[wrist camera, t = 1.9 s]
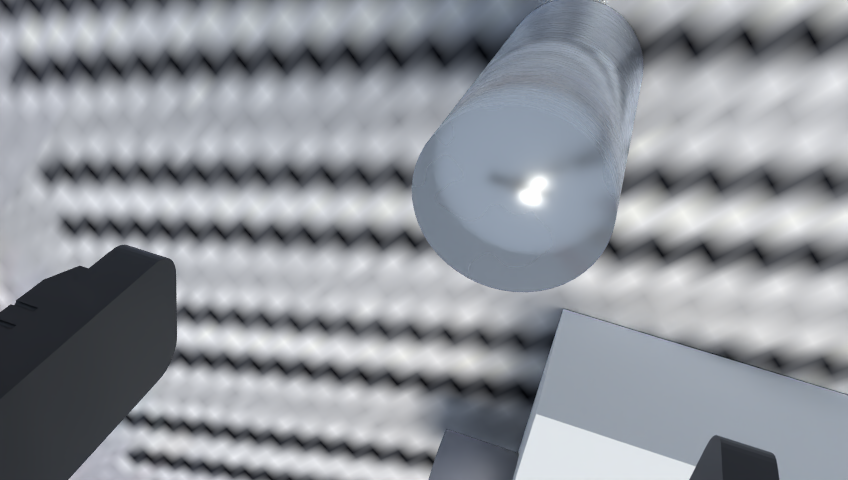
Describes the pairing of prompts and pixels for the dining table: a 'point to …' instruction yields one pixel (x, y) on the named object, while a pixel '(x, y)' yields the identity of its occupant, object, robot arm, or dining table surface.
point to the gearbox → (653, 414)
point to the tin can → (535, 151)
